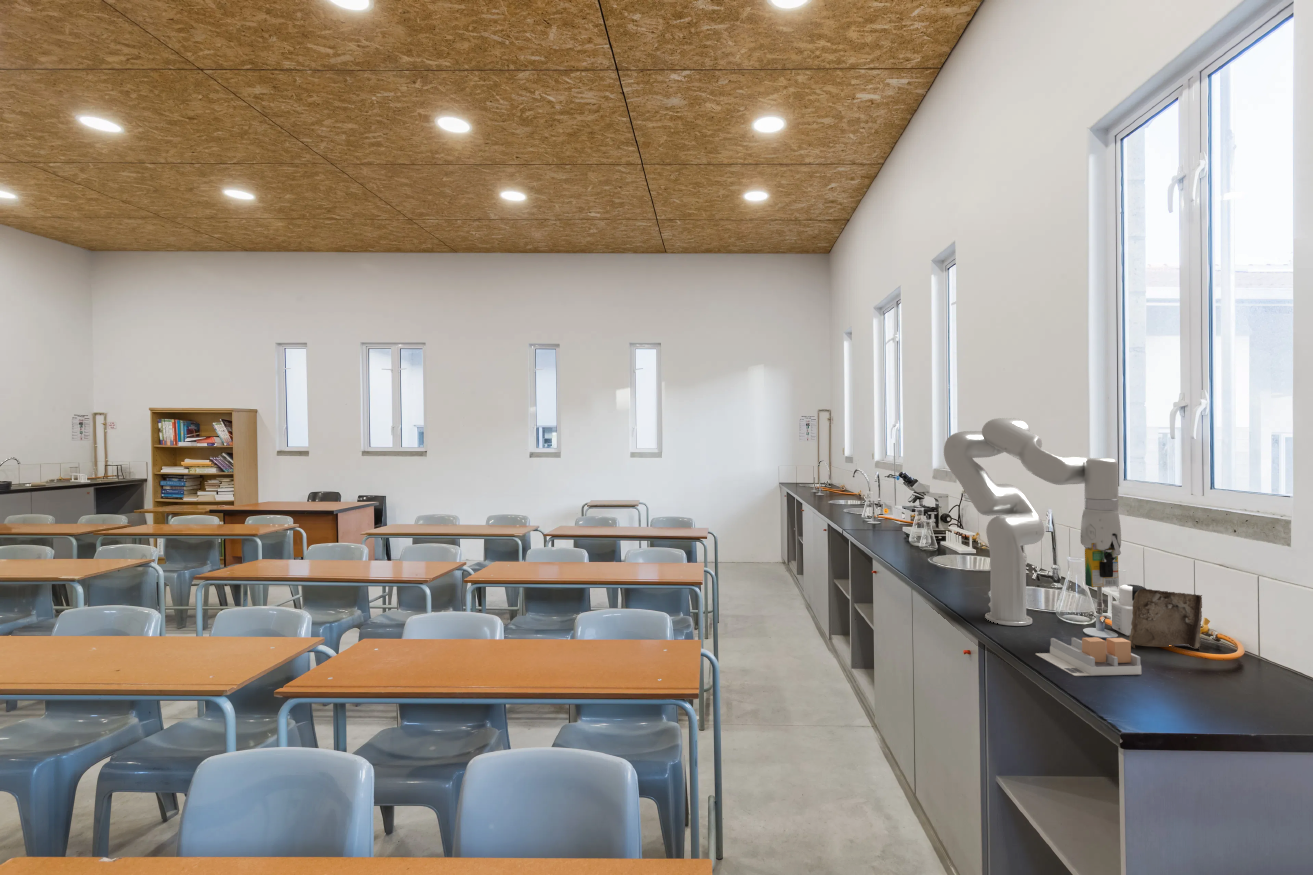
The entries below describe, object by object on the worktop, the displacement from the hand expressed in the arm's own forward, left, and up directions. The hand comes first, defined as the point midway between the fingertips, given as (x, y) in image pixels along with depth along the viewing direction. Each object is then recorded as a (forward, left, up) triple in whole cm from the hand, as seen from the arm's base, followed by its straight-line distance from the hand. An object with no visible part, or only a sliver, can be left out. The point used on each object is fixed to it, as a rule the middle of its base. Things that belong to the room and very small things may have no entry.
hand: (1101, 574), depth 185 cm
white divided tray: (+13, -13, -19) cm, 26 cm away
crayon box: (0, 0, -3) cm, 3 cm away
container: (-12, +17, -19) cm, 28 cm away
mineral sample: (+2, +15, -19) cm, 24 cm away
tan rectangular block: (+17, -14, -16) cm, 27 cm away
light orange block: (+18, -8, -16) cm, 26 cm away
